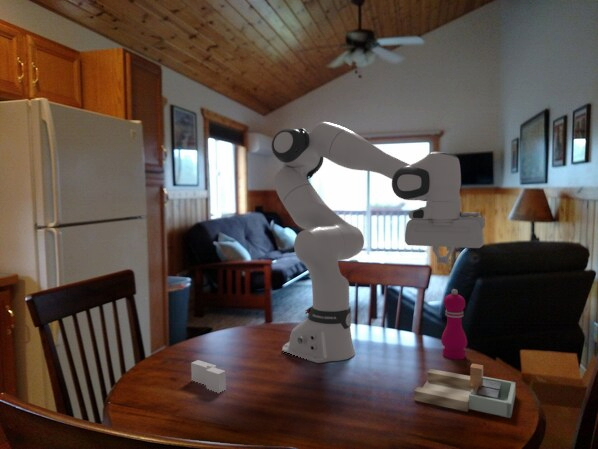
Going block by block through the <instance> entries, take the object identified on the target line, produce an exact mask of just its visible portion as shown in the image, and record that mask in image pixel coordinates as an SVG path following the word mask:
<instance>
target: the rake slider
mask: <svg viewBox="0 0 598 449" xmlns="http://www.w3.org/2000/svg"><path fill="white" fill-rule="evenodd" d="M469 373H470V374H469V376H470V386H473V387H472V390H471V394H473V395H477V393H478V390H479V388H482V385H483V377H484V365H482V364H477V363H471V365H470V372H469Z"/></svg>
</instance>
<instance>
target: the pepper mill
mask: <svg viewBox="0 0 598 449" xmlns="http://www.w3.org/2000/svg"><path fill="white" fill-rule="evenodd" d="M458 293H459V292H458V289H455V288H453V289H452V290H451V293H449V294H448V295H446V296H445V297H444V299H443V306H444V307H445V309H446V310H445V311H444V312H445V316H446V318H447V320H446V321H447V322H446V326H445V329H444V331H443V332H442V335H441V345H442V346H443V347H444V348H442V356H444V357H445V358H447V359H448V360H449V359H450V360H456V361H457V360H458V361H459V360H464V359H466V350H465V348H466V347H467V346H468V340H467V339H468V338H467V335H466V333H465V331H464V328H463V324H462V321H463V320H462V319H463V317H464V309H465V308H466V300H465V298H464V297H463V296H462V295H460V294H458Z"/></svg>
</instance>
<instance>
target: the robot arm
mask: <svg viewBox="0 0 598 449" xmlns="http://www.w3.org/2000/svg"><path fill="white" fill-rule="evenodd" d="M271 150H272V153H273V155H274V156H275V158H276V159H277V160H279V161H280V162H281V163H283V165H282V168H280V169H279V170H278V171H277V172H276V174H275V175H274V176H273V185H274V186H273V187H274V189H275V191H276V193H277V196H278V198H279V200H280V202H281V203H282V205H283V206H284V208H285V210H286V211H287V212H288V214H289V216H290V218H292V220H293V222H294V223H295V224H296V225H297V226H298V227H299V228H301V229H303V230H301V231H300V232H299V233H297V234H296V236H295V239H294V241H293V243H294V244H293V248H294V253H295V255H296V257H297V258H298V260H299V261H300V262H301V263H303V264H304V265H305V267H306V269H307V272H308V273H309V277H310V281H311V289H312V290H311V291H312V293H311V294H312V306H310V307H308V308H307V309H305V310H304V311H305V314H308V315H307V318H305V319H304V320H303V321H301V322H300V323H298V324H297V325H296V326H295V327H294V328H293V329H292V330H291V332H290V334H289V335H290V336H289V341H288V342H286V343H285V344H283V346H282V349H281V352H282V351H284V352H287V353H290V354H292V355H291V356H293V355H295V356H294V357H296V356H298V357H297V358H300V357H301V359H303V358H304V359H303V360H306V359H307V361H309V362H313V363H317V364H322V363H326V362H337V361H344V360H348V359H351V358H353V357H354V356H355V355H356V351H355V347H354V343H353V339H352V338H353V337H352V333H351V325H352V311H351V306H350V283H349V280H348V278H346V277H345V276H344V275H342V273H341V270H340V266H339V262H340V261H344V260H349V259H352V258H353V257H355V256H357V255H358V254H360V253H361V252H362V251H363V249H364V245H365V239H364V238H365V237H364V235H363V232H362V231H361V230H360V229H359V228H358V227H356V226H355V225H352V224H350V223H349V222H347V221H345V219H344V218H342V217H341V216H340V215H338V214H337V213H336V212H335V211H334V210H333V209H331V208H330V206H328V205H327V204H326V203H325V201H324V200H323V199H322V197H321V196H320V195H319V193H318V192H317V191H316V189H315V188H314V186H313V185H312V183H311V182H310V181H309V179H311V178H312V177H313V176H314V174H317V172H318V171H319V170H320V169H321V167H322V166H323V163H324V158H325V159H327V160H329V161H330V162H332V163H333V164H335V165H337V166H340V167H342V168H346V169H350V170H353V171H354V170H355V171H364V172H365V171H366V172H373V173H377V174H380V175H383V176H384V177H387V178H389V179H391V187H392V191H393V193H394V194H395V195H396V196H397V197H398V198H400V199H403V200H404V201H421V202H426V206H424V207H423V206H422V207H419V208H417V209H413V210H411V211H409V212H408V218H409V220H408V221H407V223H406V226H405V234H404V242H405V244H406V246H417V247H418V246H421V247H426V246H427V247H432V251H433V253H434V255H435V257H436V263H437V264H449V263H450V257H451V255H452V254H453V252H454V248H466V249H467V248H468V249H469V248H470V249H480V248H482V247H483V245H484V243H485V242H484V241H485V238H484V231H483V230H484V228H485V225H486V224H485V223H486V219H485V217H484V215H483V214H481V213H479V212H476V211H475V212H468V211H465V212H462V211H461V208H462V207H461V206H462V201H461V199H462V198H461V196H460V191H461V190H460V189H461V185H462V173H461V164H460V159H459V158H458V156H456V155H455V154H453V153H450V152H443V151H430V152H429V153H428V154H427V155H426V156H425V157H423V158H422V159H420V160H418V161H416V162H413V163H411V164H410V163H408V162H405V161H403V160H400V159H398V158H396V157H395V156H393V155H391V154H388V153H387V152H385V151H383V150H382V149H380V148H378V147H377V146H376V145H374V144H372V143H371V142H370V141H368V140H367V139H366V138H364V137H363V136H361V135H360V134H358V133H356V132H355V131H352V130H350V129H348V128H347V127H345V126H341V125H340V124H336V123H332V122H327V121H320V122H319V123H317V124H315V125H314V126H313V128H312V129H311V130H310V132H308V131H307V130H306V129H305V128H284V129H281V130H279V131H277V133H276V134H275V135H274V137H273V138H272V141H271ZM442 247H444V248H446V251H447V254H446V256H445V255H444V256H443V255H441V254H440V249H441V248H442ZM284 352H283V353H284ZM287 353H286V354H287ZM290 354H289V355H290Z"/></svg>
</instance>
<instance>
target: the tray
mask: <svg viewBox="0 0 598 449" xmlns="http://www.w3.org/2000/svg"><path fill="white" fill-rule="evenodd" d="M483 379H485V380H490V381H495V382H501V398H500V400H498V399H493V398H488V397H483V396H478V395H473V394H469V409H468V410H473V411H476V412H481V413H486V414H489V415H495V416H499V417H504V418H509V419H512V415H513V409H514V406H515V399H516V387H517V386H516V385H517V384H516V383H517V382H516V381H511V380H510V381H509V380H504V379H499V378H494V377H493V378H492V377H488V376H483Z"/></svg>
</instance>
